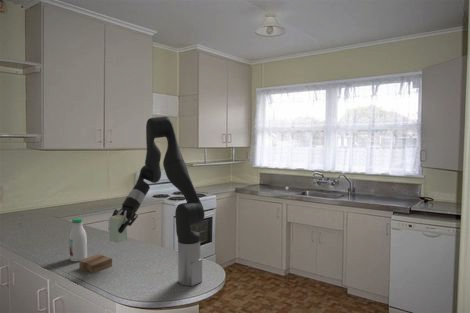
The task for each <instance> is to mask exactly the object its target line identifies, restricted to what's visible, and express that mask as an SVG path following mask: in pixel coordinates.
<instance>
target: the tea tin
mask: <svg viewBox="0 0 470 313" xmlns="http://www.w3.org/2000/svg"><path fill="white" fill-rule="evenodd" d="M124 217H125V216H123V215H115V216H112V215H110V216H109V219H108V227H109V228H108V231H109V232H108V233H109V242H113V243H116V244H119V243H121V242H124V241H127V240H128V228H127V227H128V226H127V227H126V228H125V229H124V231H123V232H122V233H119V232H118V230H119V228H120V226H121V225H122V224H123V221H124ZM126 222H127V221H126Z"/></svg>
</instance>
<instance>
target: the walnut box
mask: <svg viewBox="0 0 470 313" xmlns="http://www.w3.org/2000/svg"><path fill="white" fill-rule="evenodd" d="M78 262H79V269H80V270H82V271H85V272H87V273H90V274H95V273H96V274H97V273H98V272H100V271H103V270H105V269H109V268H111V267H113V258H111V257H109V256H106V255H105V256H104V255H102V254H99V253H98V254H95V255H92V256H90V257H87V258H86V259H83V260H80V261H78Z"/></svg>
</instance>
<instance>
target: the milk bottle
mask: <svg viewBox="0 0 470 313" xmlns="http://www.w3.org/2000/svg"><path fill="white" fill-rule="evenodd" d="M83 223H84V219H83V217H75V218H73V219H72V220H71V224H72V228H71V230H70V233H69V241H68V242H69V260H70V261H71V262H79V261H80V260H83V259H86V258H88V243H87V240H88V239H87V232H86V231H85V228H84V226H83Z"/></svg>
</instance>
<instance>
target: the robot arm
mask: <svg viewBox="0 0 470 313" xmlns="http://www.w3.org/2000/svg"><path fill="white" fill-rule="evenodd" d="M158 138H159V139H160V138H166V140H167V141H166V142H167V147H166V148H167V149H166V150H165V151H166V152H165V154H164V157H163V162H162V165H163V168H164V172H165V175H166V177H167V179H168V181H169V182H170V183H171V184H172V185H173V186H174V187H175V189H177V190H178V191H179V192H180V193H181V194H182V195H183V197H184V199H185V201H186V202H182V203H179V204H178V205H177V206H176V207H175V213H174V214H175V218H174V219H175V230H176V232H175V233H176V236H177V270H178V272H177V273H178V274H177V276H178V278H177V279H178V280H177V281H178V284H180V285H181V286H187V287H189V286H190V287H194V286H196V285H198V284H199V283H202V282H203V259H202V258H201V234H200V233H199V232H197V231H194V230H191V225H192V226H193V225H196V224H197V225H198V224H200V223H202V222H203V221H204V220H205V209H204V206H203V203H202V202H201V199H200V198H199V195H198V194H197V191H196V189H195V187H194V184H193V181H192V179H191V177H190V174H189V170H188V167H187V164H186V162H185V159H184V157H183V154H182V152H181V148H180V146H179V144H178V139H177V135H176V132H175V127H174V125H173V122H172V120H171V118H170V117H169V116H158V117H157V116H156V117H150V118H148V120H147V121H146V125H145V139H146V144H145V145H146V154H145V159H144V160H145V161H144V165H143V166H142V167H141V168H140V171H139V175H138V177H137V181H136V182H135V184H134V186H133V187H132V189H131V190H130V191H129V193H128V195H127V196H126V198H125V199H124V201H123V203H121V205H122V207H121V208H120V209H119V210H118V209H116V208H115V209H114V211H113V213H112V215H111V216H115V215H123V216H125V217H124V221H123V224H122V225H121V226H120V228H119V230H118V232H119V233H122V232H123V231H124V229H125V228H126V227H128V226H129V227H130V226H132V225H133V223H134V222H135V221H136V220H137V218H138V217H139V215H138V214H137V212H138V210H139V209H140V207H141V205H142V203H143V201H144V199H145V197H146V196H147V194H148V192H149V190H150V186H151V185H150V184H148V182H150V183H152V184H153V183H154V184H156V183H159V181H160V179H161V177H162V171H161V159H162V152H161V150H160V149H159V147H158V146H157V144H156V142H155V139H158ZM146 181H148V182H146ZM126 221H127V222H126Z"/></svg>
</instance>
